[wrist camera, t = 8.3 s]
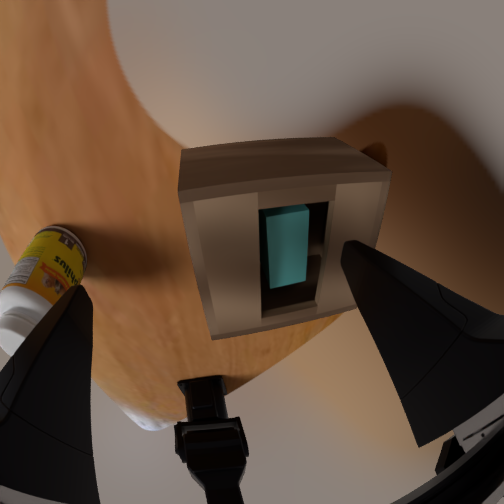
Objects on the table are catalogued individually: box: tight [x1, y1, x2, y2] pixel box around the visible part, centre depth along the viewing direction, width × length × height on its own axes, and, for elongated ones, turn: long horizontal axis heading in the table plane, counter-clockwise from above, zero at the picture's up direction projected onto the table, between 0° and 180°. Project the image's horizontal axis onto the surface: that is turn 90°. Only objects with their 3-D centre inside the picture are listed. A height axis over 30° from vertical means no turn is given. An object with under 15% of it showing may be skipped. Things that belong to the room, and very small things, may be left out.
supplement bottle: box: [0, 226, 87, 357], centre depth 15 cm, size 6×6×10 cm
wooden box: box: [178, 137, 392, 340], centre depth 18 cm, size 11×11×7 cm
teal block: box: [258, 204, 309, 289], centre depth 18 cm, size 6×2×5 cm, turn 4°
